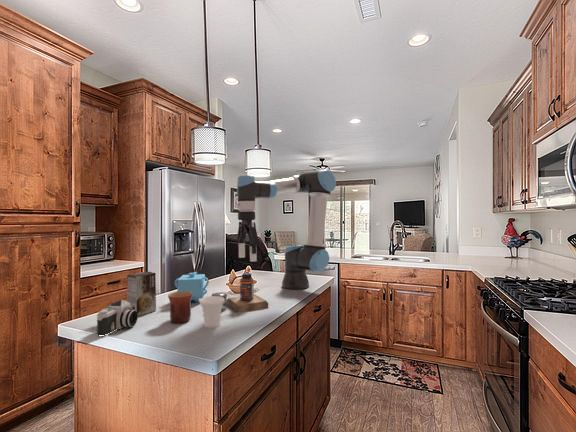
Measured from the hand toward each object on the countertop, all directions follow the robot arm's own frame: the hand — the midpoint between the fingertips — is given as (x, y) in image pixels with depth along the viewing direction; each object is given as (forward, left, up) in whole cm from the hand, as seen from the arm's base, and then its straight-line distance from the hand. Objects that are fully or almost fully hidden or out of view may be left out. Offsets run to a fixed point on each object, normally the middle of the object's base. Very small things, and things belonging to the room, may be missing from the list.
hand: (247, 259), depth 137 cm
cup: (+20, +17, -21) cm, 34 cm away
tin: (+12, -1, -21) cm, 24 cm away
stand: (0, 0, -21) cm, 21 cm away
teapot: (+18, -25, -21) cm, 37 cm away
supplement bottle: (0, 0, -18) cm, 18 cm away
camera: (+50, +4, -21) cm, 54 cm away
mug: (+29, +5, -21) cm, 36 cm away
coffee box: (+41, -13, -21) cm, 48 cm away
